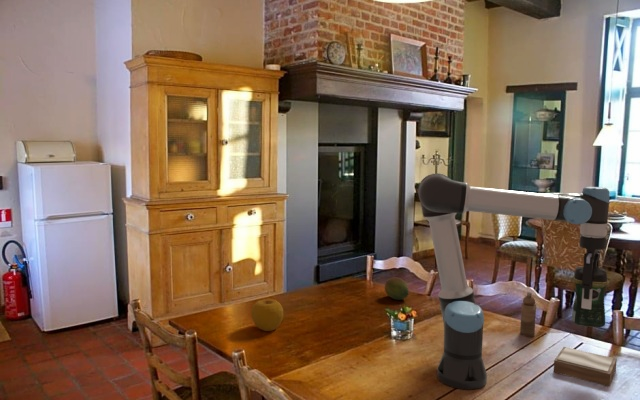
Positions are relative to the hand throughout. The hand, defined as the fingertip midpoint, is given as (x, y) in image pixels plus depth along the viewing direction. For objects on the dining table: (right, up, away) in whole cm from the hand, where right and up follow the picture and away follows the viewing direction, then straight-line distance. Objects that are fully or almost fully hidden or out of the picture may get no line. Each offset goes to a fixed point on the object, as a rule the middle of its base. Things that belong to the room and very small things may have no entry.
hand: (588, 304), depth 163 cm
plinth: (0, -22, +2) cm, 22 cm away
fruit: (-50, -14, +79) cm, 94 cm away
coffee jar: (0, -6, +1) cm, 6 cm away
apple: (-108, -18, +39) cm, 116 cm away
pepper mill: (-6, -19, +34) cm, 39 cm away
